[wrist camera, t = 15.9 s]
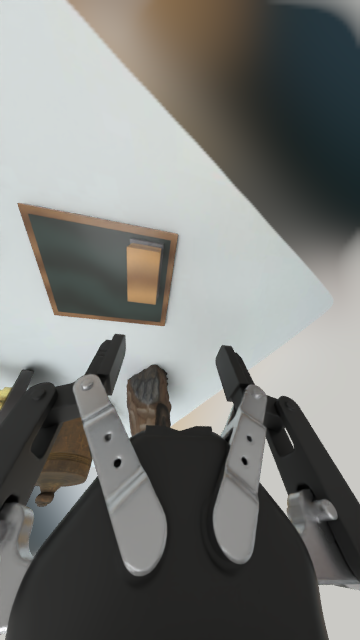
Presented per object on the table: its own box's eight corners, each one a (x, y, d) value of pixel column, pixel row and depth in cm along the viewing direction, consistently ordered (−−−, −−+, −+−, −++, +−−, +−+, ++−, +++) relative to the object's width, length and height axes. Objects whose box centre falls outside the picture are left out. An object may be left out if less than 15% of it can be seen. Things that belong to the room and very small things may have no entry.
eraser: (131, 237, 23) (123, 241, 19) (164, 243, 24) (163, 248, 20) (131, 291, 28) (125, 304, 24) (158, 294, 29) (157, 307, 25)
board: (24, 203, 21) (16, 202, 20) (177, 233, 25) (178, 234, 24) (58, 311, 31) (53, 315, 30) (164, 322, 35) (164, 326, 33)
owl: (156, 360, 41) (149, 455, 25) (184, 380, 48) (193, 467, 31) (125, 379, 45) (101, 473, 29) (155, 396, 51) (149, 481, 35)
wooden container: (100, 417, 57) (68, 511, 39) (56, 407, 51) (-5, 511, 33) (116, 398, 51) (88, 500, 32) (68, 385, 45) (1, 498, 27)
